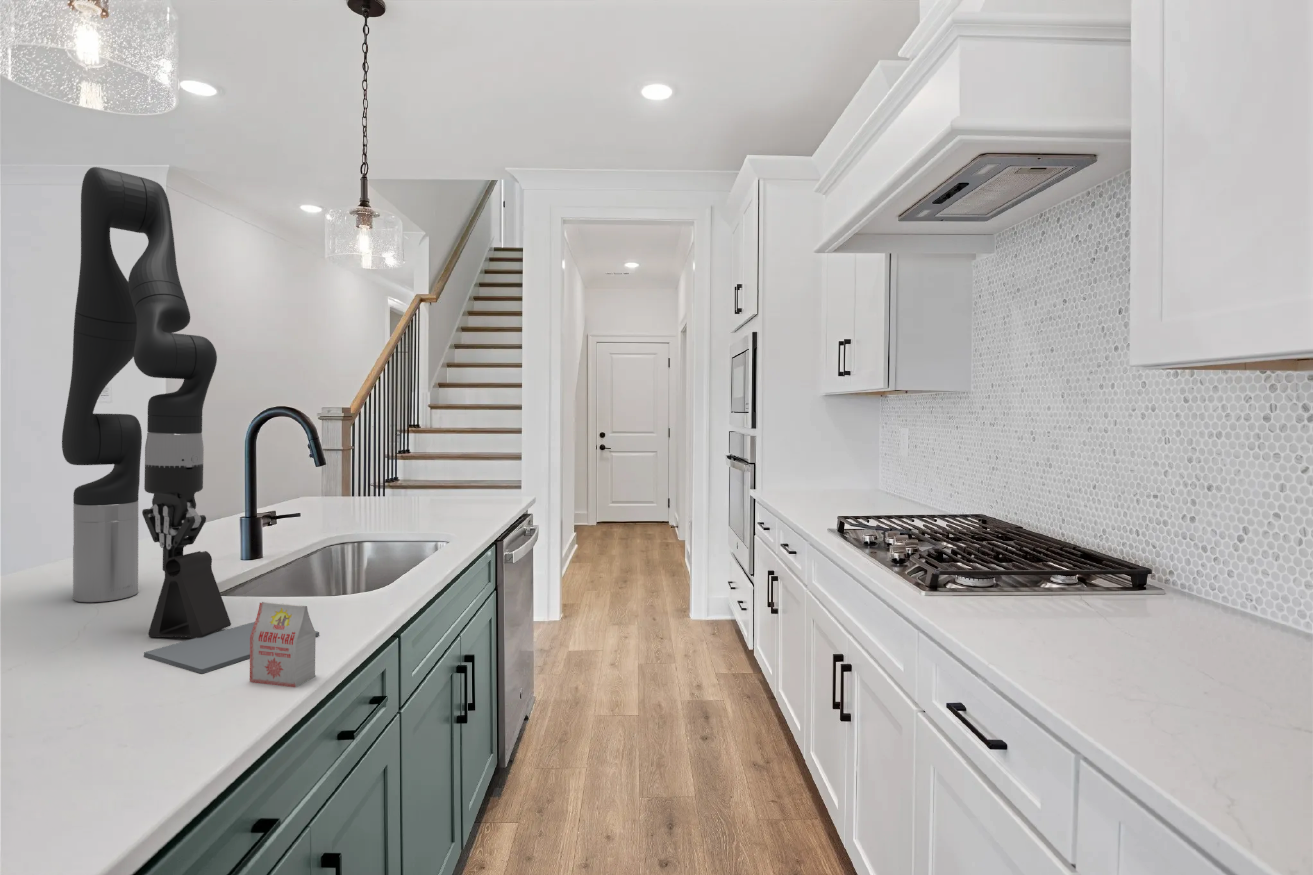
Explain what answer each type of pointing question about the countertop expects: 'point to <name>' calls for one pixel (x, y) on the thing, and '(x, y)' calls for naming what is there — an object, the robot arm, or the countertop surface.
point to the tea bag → (282, 645)
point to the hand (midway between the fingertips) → (172, 571)
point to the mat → (208, 650)
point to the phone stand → (189, 599)
